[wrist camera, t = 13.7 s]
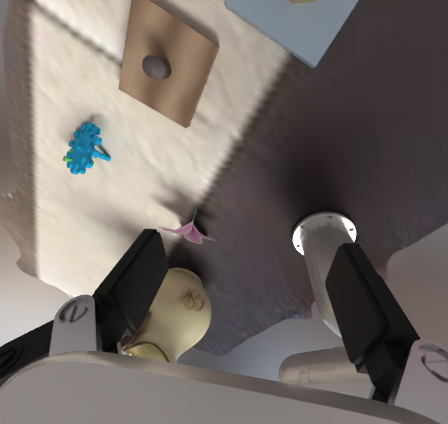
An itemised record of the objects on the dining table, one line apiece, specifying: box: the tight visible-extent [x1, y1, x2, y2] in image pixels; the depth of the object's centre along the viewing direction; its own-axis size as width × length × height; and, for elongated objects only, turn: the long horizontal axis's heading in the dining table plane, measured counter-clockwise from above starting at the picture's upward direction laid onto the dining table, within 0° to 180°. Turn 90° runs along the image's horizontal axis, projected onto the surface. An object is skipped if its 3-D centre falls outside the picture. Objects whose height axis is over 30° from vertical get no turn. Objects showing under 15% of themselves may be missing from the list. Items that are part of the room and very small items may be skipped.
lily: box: [159, 206, 215, 244], centre depth 43 cm, size 12×12×10 cm
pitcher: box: [120, 268, 211, 363], centre depth 50 cm, size 22×24×25 cm
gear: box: [63, 122, 110, 175], centre depth 38 cm, size 11×6×10 cm
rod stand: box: [119, 0, 219, 128], centre depth 28 cm, size 12×12×6 cm
